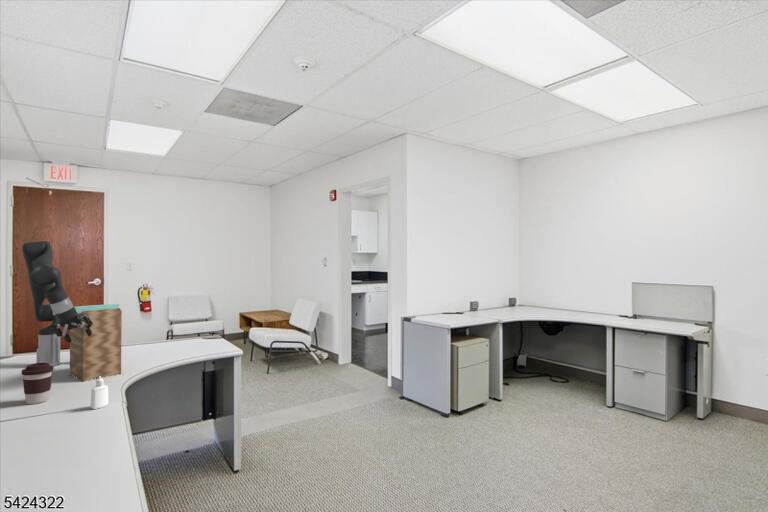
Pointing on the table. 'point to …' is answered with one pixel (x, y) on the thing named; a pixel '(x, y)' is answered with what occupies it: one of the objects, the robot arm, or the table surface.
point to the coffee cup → (37, 382)
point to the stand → (97, 345)
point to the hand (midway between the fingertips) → (80, 338)
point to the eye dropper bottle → (99, 394)
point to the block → (95, 307)
